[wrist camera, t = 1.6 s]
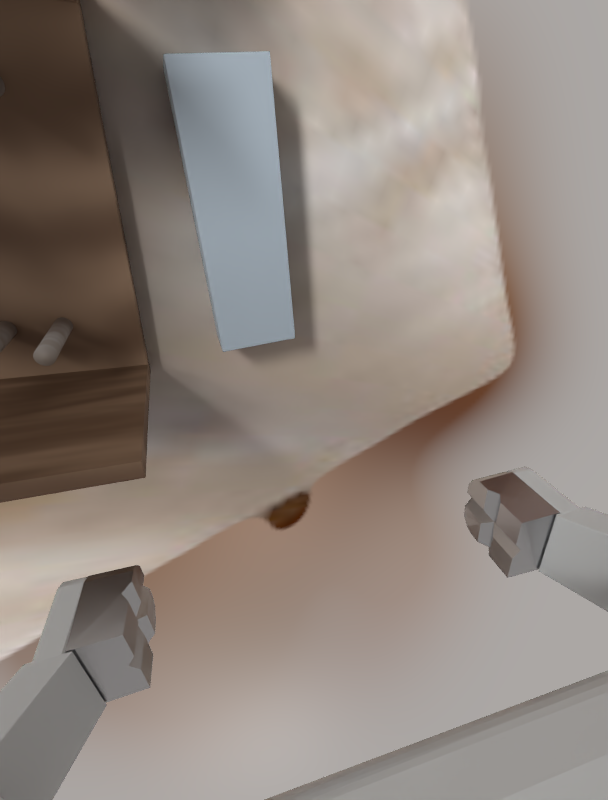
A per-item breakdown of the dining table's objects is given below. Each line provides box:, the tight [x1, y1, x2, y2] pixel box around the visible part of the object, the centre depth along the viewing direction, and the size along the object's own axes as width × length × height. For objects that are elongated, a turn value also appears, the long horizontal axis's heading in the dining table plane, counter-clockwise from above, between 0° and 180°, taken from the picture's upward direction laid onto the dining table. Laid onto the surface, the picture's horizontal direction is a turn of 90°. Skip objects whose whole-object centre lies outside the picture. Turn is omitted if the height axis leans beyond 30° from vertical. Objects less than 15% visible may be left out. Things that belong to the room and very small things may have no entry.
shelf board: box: [163, 51, 295, 352], centre depth 29 cm, size 18×6×4 cm, turn 4°
